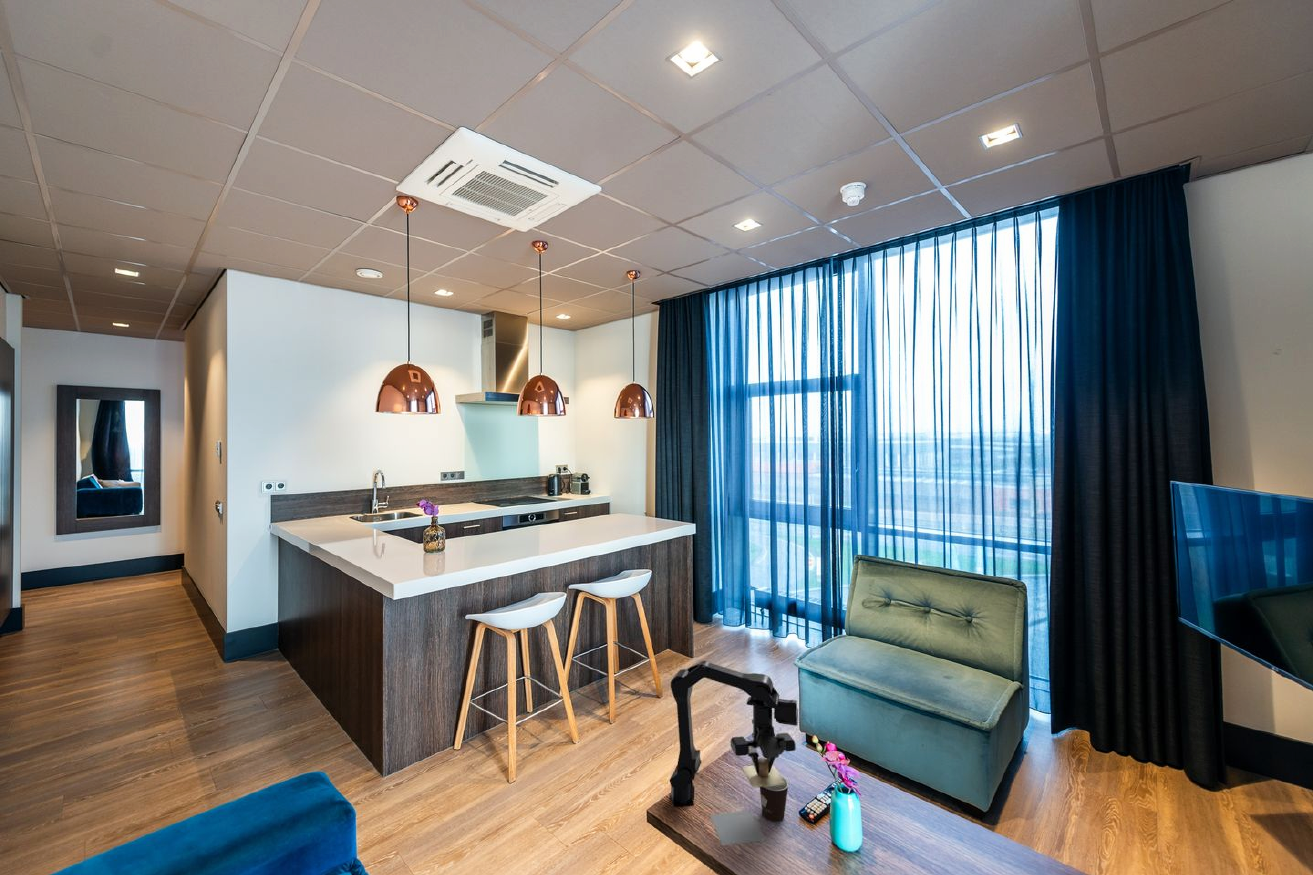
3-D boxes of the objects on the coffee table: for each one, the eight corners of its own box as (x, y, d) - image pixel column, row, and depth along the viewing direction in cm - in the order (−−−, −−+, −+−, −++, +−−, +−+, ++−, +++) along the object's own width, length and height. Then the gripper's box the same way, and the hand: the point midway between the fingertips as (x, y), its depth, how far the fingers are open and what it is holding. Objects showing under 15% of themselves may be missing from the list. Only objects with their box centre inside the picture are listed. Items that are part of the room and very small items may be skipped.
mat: (722, 846, 153) (722, 845, 153) (709, 815, 165) (709, 814, 165) (766, 841, 155) (766, 839, 155) (750, 811, 168) (750, 810, 168)
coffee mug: (790, 825, 162) (791, 791, 162) (761, 824, 162) (761, 790, 162) (782, 800, 173) (782, 768, 174) (755, 799, 173) (755, 767, 174)
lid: (752, 787, 159) (752, 771, 160) (741, 768, 169) (741, 753, 169) (785, 784, 161) (785, 768, 161) (772, 765, 171) (772, 750, 171)
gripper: (741, 735, 156) (741, 791, 156) (803, 730, 159) (803, 785, 159) (729, 717, 167) (730, 769, 167) (787, 712, 170) (788, 764, 170)
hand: (762, 772), depth 165 cm, fingers closed on lid, 3 cm apart
